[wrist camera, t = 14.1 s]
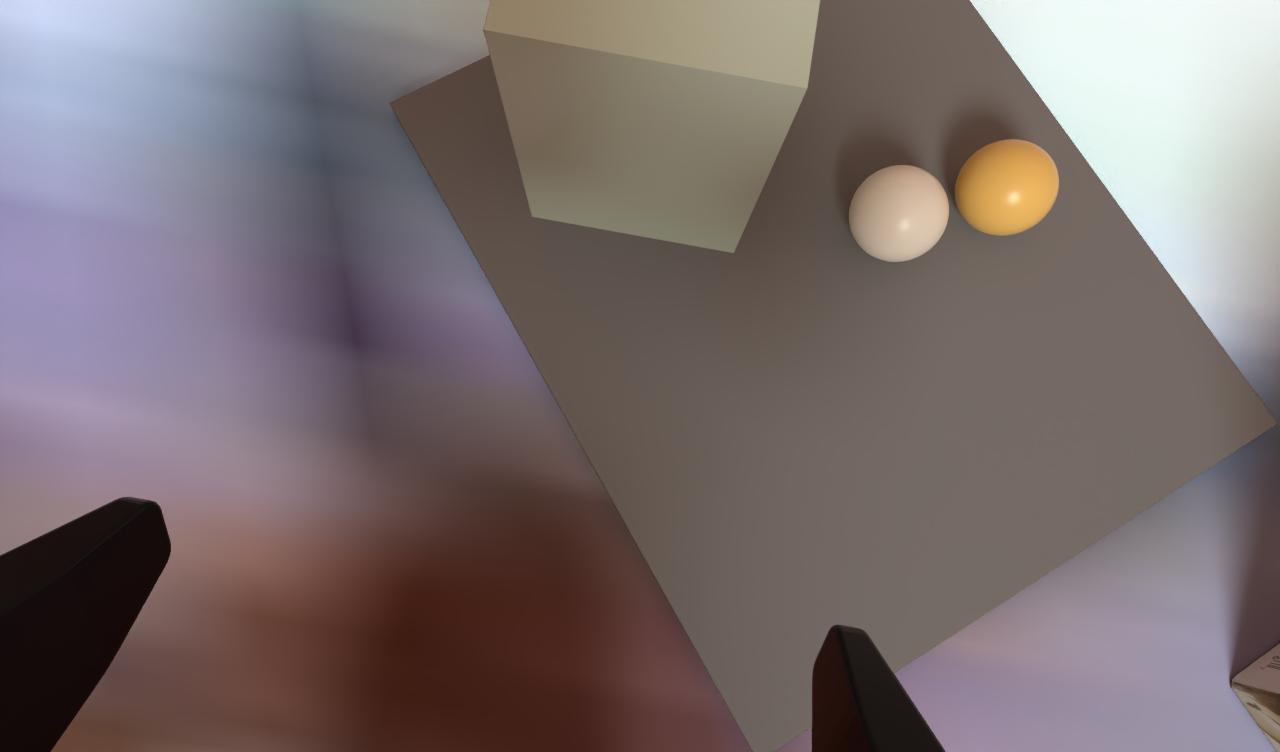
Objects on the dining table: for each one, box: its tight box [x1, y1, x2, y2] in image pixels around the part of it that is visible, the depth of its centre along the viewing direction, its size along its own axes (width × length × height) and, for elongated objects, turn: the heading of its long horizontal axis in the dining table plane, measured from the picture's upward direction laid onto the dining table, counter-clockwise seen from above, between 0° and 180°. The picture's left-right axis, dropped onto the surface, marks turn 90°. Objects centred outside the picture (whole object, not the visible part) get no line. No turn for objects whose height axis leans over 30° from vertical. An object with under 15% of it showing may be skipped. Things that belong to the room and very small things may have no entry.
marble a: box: [849, 165, 949, 262], centre depth 24 cm, size 3×3×3 cm
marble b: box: [955, 139, 1059, 236], centre depth 24 cm, size 3×3×3 cm
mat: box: [390, 0, 1278, 752], centre depth 25 cm, size 24×20×1 cm
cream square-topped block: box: [484, 0, 820, 253], centre depth 21 cm, size 7×7×10 cm
